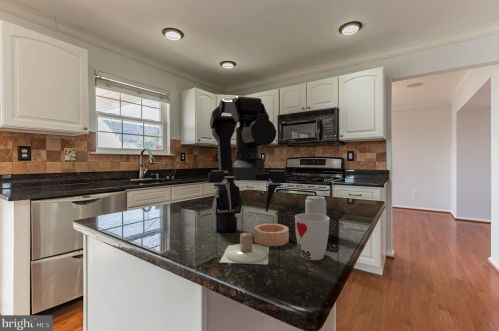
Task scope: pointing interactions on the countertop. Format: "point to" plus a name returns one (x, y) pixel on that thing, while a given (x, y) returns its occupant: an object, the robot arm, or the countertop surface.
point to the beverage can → (315, 205)
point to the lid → (246, 250)
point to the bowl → (271, 234)
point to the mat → (263, 261)
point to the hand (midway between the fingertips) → (247, 211)
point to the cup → (312, 235)
